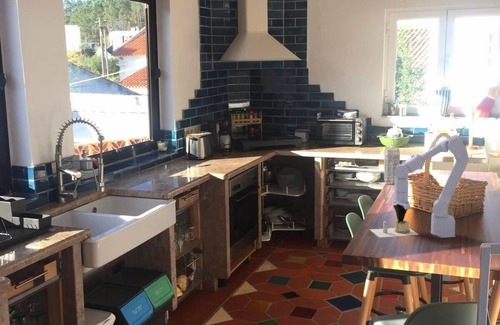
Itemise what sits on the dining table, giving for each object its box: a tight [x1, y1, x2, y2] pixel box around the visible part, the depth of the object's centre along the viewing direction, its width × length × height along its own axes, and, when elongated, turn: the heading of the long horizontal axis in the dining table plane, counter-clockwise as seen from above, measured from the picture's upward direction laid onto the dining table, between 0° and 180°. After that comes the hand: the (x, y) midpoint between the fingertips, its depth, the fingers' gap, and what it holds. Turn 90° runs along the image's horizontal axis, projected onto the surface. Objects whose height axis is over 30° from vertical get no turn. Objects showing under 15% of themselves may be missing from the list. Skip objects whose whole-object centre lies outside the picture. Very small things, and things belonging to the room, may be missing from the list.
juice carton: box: [383, 144, 401, 185], centre depth 350 cm, size 9×8×24 cm
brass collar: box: [395, 219, 410, 232], centre depth 248 cm, size 5×5×4 cm
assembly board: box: [369, 220, 420, 238], centre depth 247 cm, size 18×12×6 cm, turn 98°
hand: (400, 221), depth 249 cm, fingers closed, pressing on brass collar
